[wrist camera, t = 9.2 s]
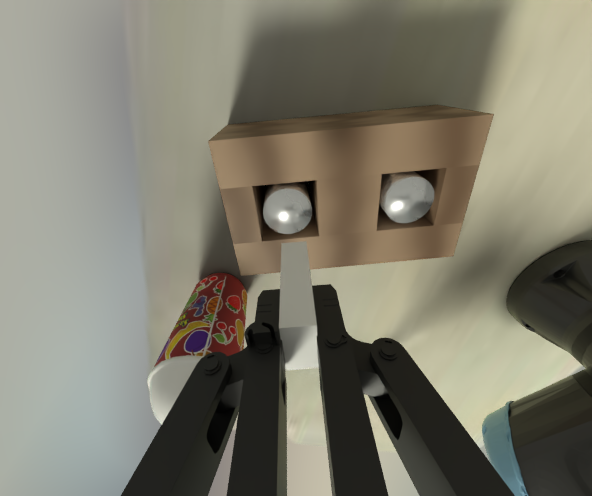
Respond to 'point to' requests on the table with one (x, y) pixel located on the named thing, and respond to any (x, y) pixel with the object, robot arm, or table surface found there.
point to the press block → (349, 182)
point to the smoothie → (199, 337)
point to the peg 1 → (287, 207)
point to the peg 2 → (405, 196)
